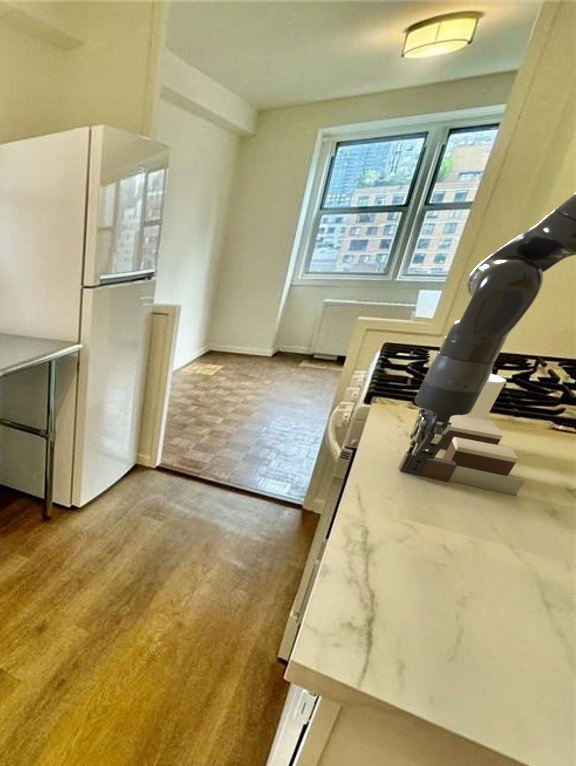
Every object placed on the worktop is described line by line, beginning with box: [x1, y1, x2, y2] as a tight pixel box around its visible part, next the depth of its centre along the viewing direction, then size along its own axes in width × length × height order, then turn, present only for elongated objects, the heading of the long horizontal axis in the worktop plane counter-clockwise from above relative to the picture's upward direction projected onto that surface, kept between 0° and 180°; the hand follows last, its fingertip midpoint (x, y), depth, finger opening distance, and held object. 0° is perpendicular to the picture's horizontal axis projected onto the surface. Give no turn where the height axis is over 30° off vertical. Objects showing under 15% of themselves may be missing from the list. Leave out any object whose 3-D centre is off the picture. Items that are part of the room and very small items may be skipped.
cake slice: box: [442, 437, 519, 477], centre depth 90 cm, size 8×5×5 cm, turn 56°
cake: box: [440, 415, 503, 451], centre depth 98 cm, size 8×8×5 cm
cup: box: [459, 373, 507, 420], centre depth 111 cm, size 8×12×10 cm
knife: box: [398, 450, 526, 496], centre depth 87 cm, size 16×2×4 cm, turn 56°
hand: (410, 468), depth 90 cm, fingers open, 3 cm apart
